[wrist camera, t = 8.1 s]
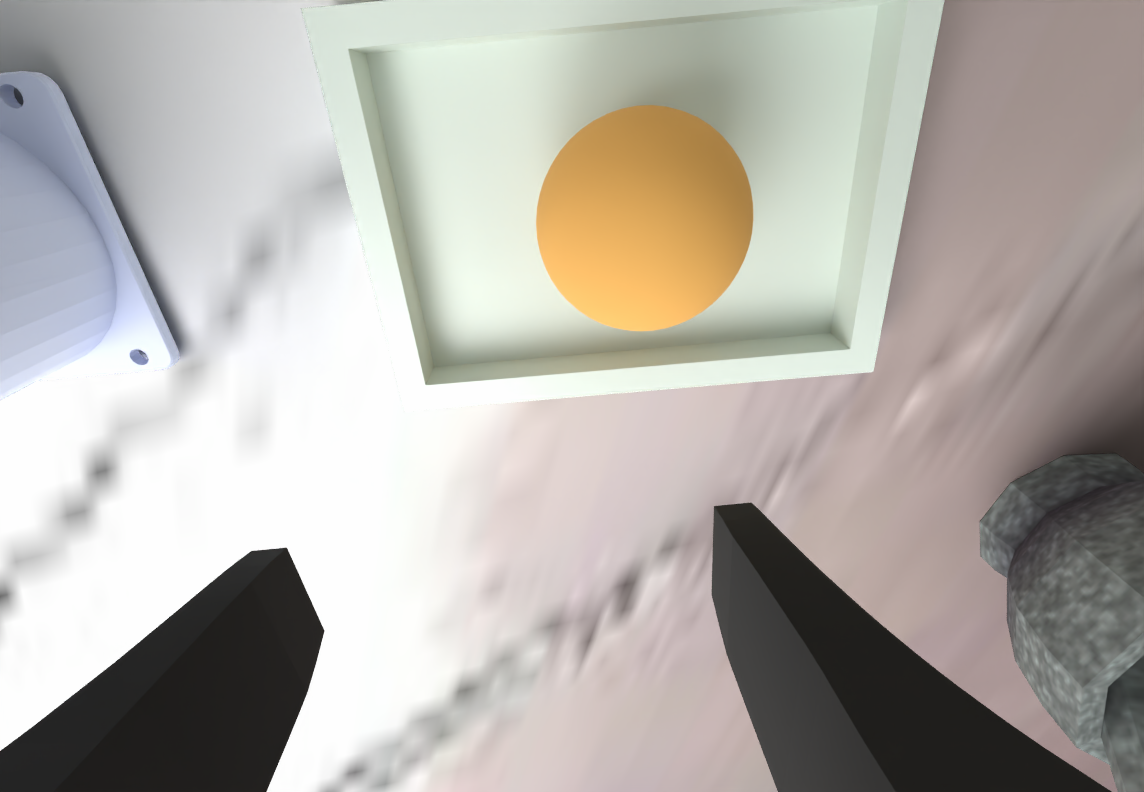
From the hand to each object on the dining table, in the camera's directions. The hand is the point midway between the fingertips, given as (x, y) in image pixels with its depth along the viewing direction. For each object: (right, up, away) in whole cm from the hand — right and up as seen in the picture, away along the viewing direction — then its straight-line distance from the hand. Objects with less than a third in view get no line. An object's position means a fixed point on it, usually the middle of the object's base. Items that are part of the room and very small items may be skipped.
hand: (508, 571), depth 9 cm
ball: (+3, +7, +4) cm, 8 cm away
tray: (+3, +8, +6) cm, 11 cm away
